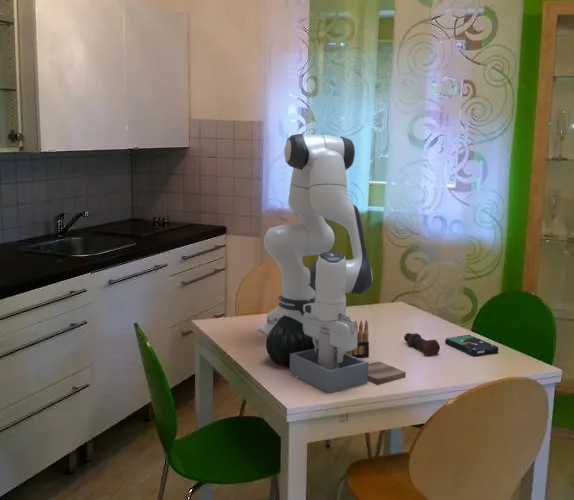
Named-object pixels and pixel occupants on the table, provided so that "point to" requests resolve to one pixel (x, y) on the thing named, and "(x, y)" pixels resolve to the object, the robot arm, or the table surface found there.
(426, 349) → the bolt
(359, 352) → the ammunition clip
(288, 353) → the squash
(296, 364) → the grey rectangular open frame
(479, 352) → the disk drive
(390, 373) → the walnut pad
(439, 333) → the table surface
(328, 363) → the energy drink can
